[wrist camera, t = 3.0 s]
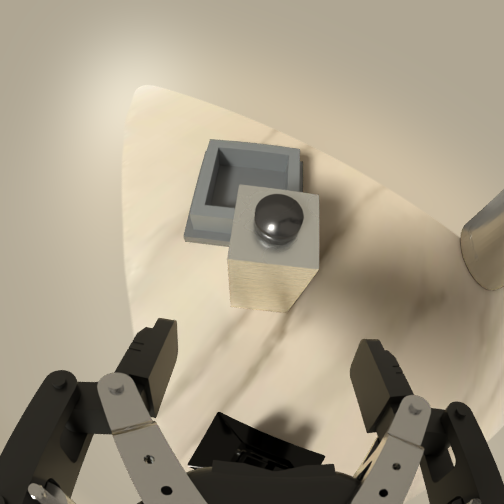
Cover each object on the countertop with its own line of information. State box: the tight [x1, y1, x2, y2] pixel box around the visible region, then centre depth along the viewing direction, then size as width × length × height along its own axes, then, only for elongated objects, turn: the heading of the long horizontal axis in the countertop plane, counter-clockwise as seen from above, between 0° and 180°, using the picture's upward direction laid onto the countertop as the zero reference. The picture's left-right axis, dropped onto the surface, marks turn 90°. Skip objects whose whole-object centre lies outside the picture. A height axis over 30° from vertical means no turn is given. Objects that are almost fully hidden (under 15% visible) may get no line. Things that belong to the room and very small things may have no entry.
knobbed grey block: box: [227, 184, 319, 313], centre depth 19 cm, size 4×4×11 cm
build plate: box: [188, 412, 325, 471], centre depth 16 cm, size 12×7×5 cm, turn 63°
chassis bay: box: [184, 139, 303, 247], centre depth 26 cm, size 10×10×4 cm
